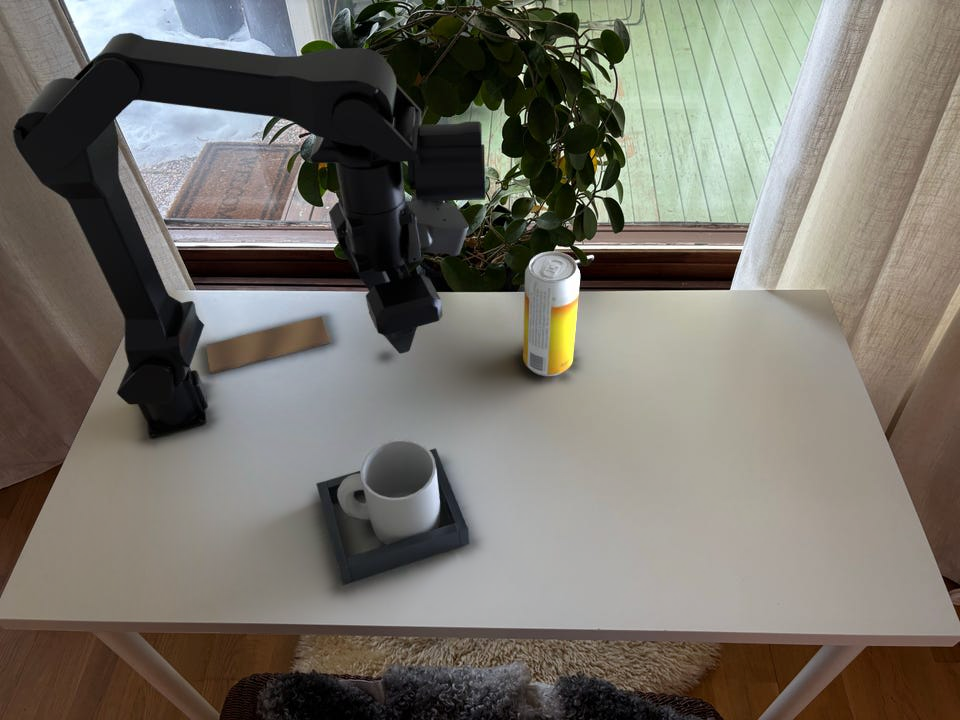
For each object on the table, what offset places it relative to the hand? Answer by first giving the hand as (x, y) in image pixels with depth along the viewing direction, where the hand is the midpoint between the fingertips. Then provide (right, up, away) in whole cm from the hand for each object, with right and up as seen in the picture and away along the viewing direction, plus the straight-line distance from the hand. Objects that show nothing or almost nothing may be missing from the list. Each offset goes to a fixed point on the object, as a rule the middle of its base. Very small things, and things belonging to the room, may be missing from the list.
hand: (391, 323), depth 83 cm
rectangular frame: (0, -21, -1) cm, 21 cm away
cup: (0, -21, -1) cm, 21 cm away
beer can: (+18, -4, +14) cm, 23 cm away
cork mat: (-18, -2, +18) cm, 25 cm away
